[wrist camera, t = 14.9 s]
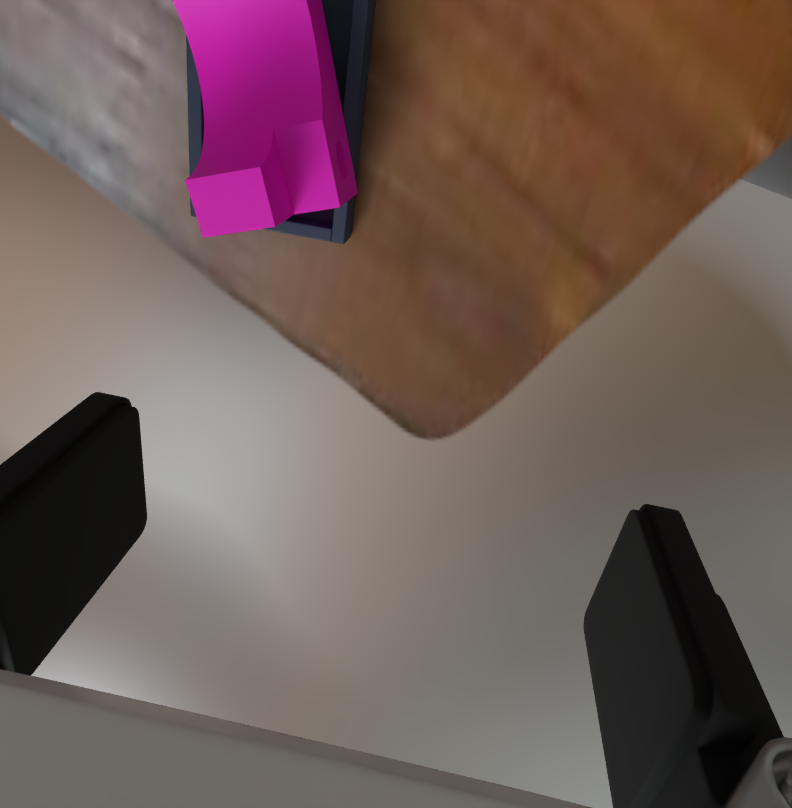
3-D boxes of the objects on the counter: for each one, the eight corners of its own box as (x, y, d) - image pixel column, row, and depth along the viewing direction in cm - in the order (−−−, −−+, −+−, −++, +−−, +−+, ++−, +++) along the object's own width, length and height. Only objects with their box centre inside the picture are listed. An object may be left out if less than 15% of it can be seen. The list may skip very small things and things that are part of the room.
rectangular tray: (392, -153, 28) (385, -169, 26) (350, 237, 37) (343, 244, 36) (198, -182, 29) (179, -199, 27) (204, 209, 38) (190, 216, 36)
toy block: (357, 192, 34) (325, 219, 28) (256, 209, 35) (203, 237, 29) (294, -145, 27) (231, -216, 21) (172, -110, 29) (77, -167, 22)
